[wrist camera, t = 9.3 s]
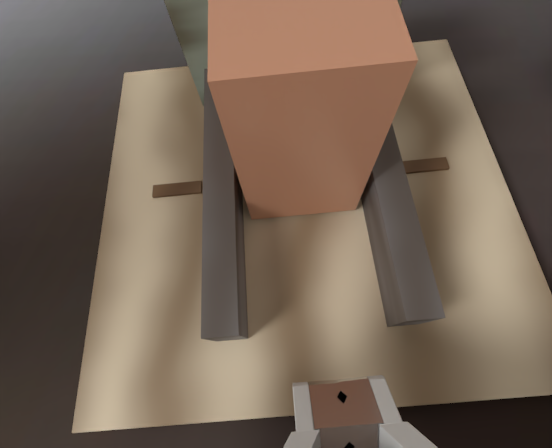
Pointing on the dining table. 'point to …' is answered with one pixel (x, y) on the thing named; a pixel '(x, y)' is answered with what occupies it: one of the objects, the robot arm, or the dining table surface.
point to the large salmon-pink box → (306, 96)
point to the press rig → (304, 264)
